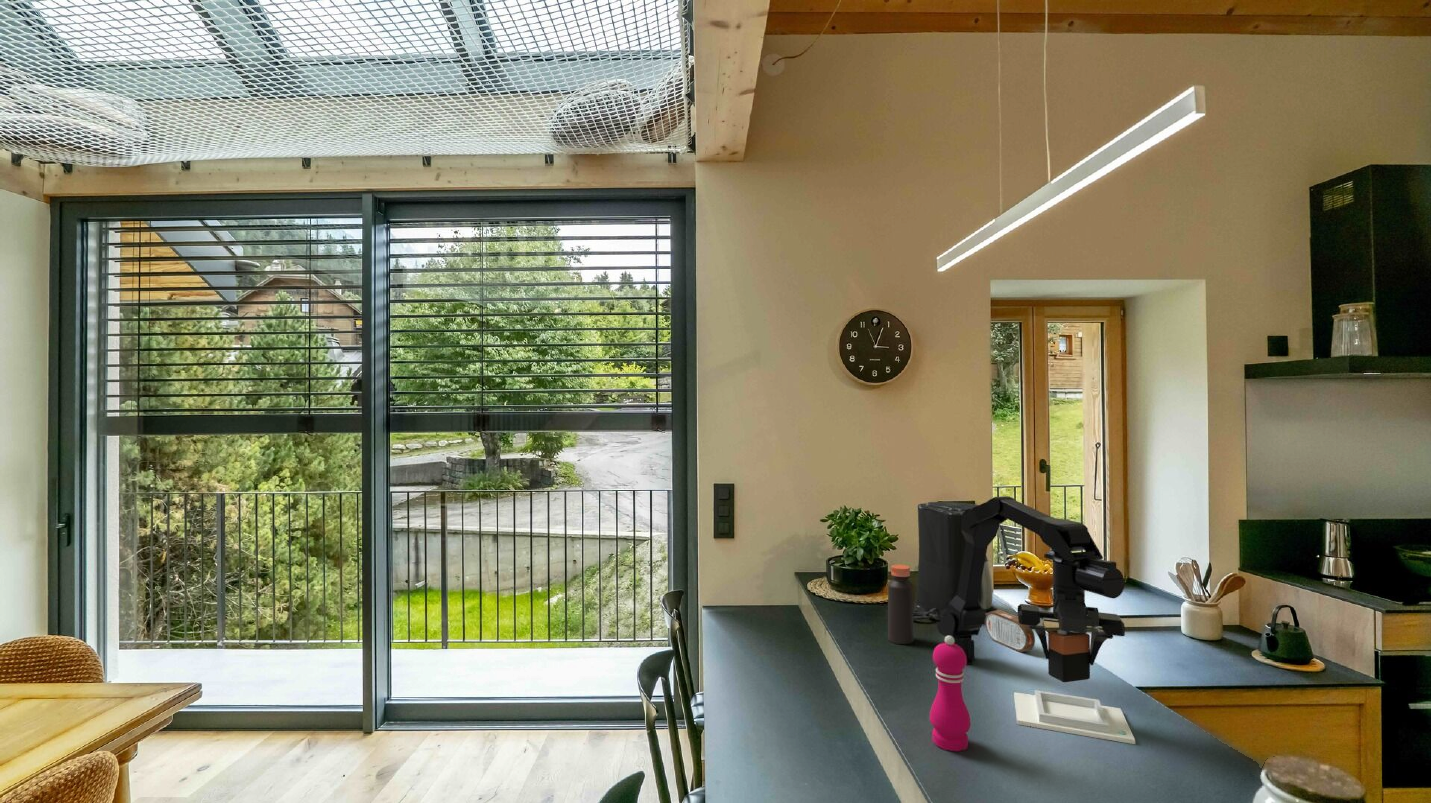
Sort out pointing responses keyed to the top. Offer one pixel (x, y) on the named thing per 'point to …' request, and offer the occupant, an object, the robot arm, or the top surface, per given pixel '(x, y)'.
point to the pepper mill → (949, 698)
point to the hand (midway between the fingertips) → (1068, 661)
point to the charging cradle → (1072, 716)
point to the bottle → (900, 606)
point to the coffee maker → (943, 560)
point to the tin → (1009, 631)
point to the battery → (1068, 655)
